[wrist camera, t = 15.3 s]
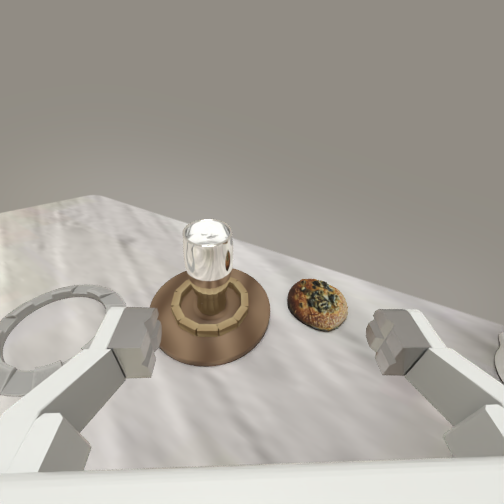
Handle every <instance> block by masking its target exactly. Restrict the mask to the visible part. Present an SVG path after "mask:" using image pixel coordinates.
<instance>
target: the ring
mask: <svg viewBox="0 0 504 504" xmlns="http://www.w3.org/2000/svg"><path fill="white" fill-rule="evenodd" d="M71 297H89V298H93V299H96V300H98V301H100V302H101V303H102V304H103V305H104V306H105V307H106V313H107V311H108V310H109V309H110V308H111V307H126V305H125V302H124V300H123V299H122V298H121V296H120V295H119V294H117V293H116V292H115V291H113V290H111V289H109V288H106V287H103V286H98V285H73V286H68V287H63V288H59V289H56V290H53V291H50V292H47V293H45V294H42V295H40V296H38V297H35V298H33V299H31V300H29V301H27V302H25V303H24V304H22V305H20V306H19V307H17V308H16V309H14V310H13V311H12V312H10V313H9V314H8V315H6V316H5V317H4V318H3V319H2V320H1V321H0V395H5V396H25V395H26V394H27V393H29V392H30V391H31V390H33V389H34V388H35V387H36V386H38V385H39V384H40V383H41V382H43V381H44V380H45V379H47V378H48V377H49V376H50V375H52V374H53V373H54V372H55V371H57V370H58V369H59V368H61V367H62V366H63V365H64V364H66V363H67V362H68V361H69V360H71V359H72V358H71V359H69V360H67V361H65V362H63V363H62V362H61V360H60V361H57V362H55V363H52V364H49V365H45V366H41V367H35V370H34V371H23V370H17V369H16V368H15V367H13V366H10V365H7V364H6V363H5V362H4V359H3V346H4V343H5V341H6V339H7V337H8V335H9V334H10V332H11V331H12V330H13V329H14V327H15V326H16V325H17V324H18V323H19V322H20V321H22V320H23V319H24V318H25V317H26V316H28V315H29V314H31V313H32V312H34V311H35V310H37V309H39V308H41V307H43V306H45V305H47V304H49V303H52V302H54V301H58V300H61V299H65V298H71ZM94 337H95V336H94ZM94 337H93V338H92V339H91V340H90V341H89V342H88V343H87V344H86V345H85V346H83V347H82V348H81V349H82V350H83V349H89V347H90V345H91V343H92V341H93V339H94ZM74 357H75V356H74Z"/></svg>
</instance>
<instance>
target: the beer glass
mask: <svg viewBox="0 0 504 504" xmlns="http://www.w3.org/2000/svg"><path fill="white" fill-rule="evenodd" d="M183 254H184V262H185V267H186V271H187V274H188V277H189V280H190V282H191V285H192V288H193V291H194V301H193V310H194V312H195V314H196V315H197V316H198V317H200V318H202V319H204V320H216V319H219V318H221V317H223V316H224V315H225V314H226V313H227V312H228V310H229V307H230V302H229V298H228V294H227V289H228V284H229V280H230V276H231V272H232V266H233V239H232V229H231V227H230V226H229V225H227V224H226V223H224V222H222V221H219V220H214V219H203V220H197V221H194V222H192V223H190V224H188V225H187V226H186V227H185V228H184V230H183Z"/></svg>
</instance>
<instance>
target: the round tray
mask: <svg viewBox="0 0 504 504" xmlns="http://www.w3.org/2000/svg"><path fill="white" fill-rule="evenodd" d="M227 294H228V298H229V302H230V307H229V310H228V312H227V313H226V314H225V315H224V316H223V317H221V318H219V319H216V320H204V319H202V318H200V317H198V316H197V315H196V314H195V312H194V310H193V301H194V291H193V288H192V285H191V282H190V280H189V277H188V274H187V271H185V272H182V273H180V274H178V275H176V276H175V277H173V278H172V279H170V280H169V281H168V282H166V283H165V284H164V285H163V286H162V287H161V288H160V289H159V290H158V292H157V293H156V295H155V296H154V298H153V300H152V302H151V305H150V308H157V310H158V313H159V315H158V318H157V320H159V321H160V322H161V326H162V336H161V342H160V346H159V347H160V348H161V349H162V350H163V351H164V352H165V353H166V354H167V355H169V356H170V357H172V358H173V359H175V360H177V361H179V362H182V363H185V364H189V365H194V366H216V365H222V364H226V363H229V362H232V361H234V360H236V359H238V358H241V357H242V356H244V355H245V354H247V353H248V352H250V351H251V350H252V349H253V348H254V347H255V346H256V345H257V344H258V343H259V342H260V340H261V339H262V337H263V336H264V334H265V332H266V330H267V326H268V322H269V316H270V304H269V299H268V297H267V294H266V292H265V290H264V289H263V288H262V286H261V285H260V284H259V283H258V282H257V281H256V280H255V279H254V278H252V277H251V276H249V275H248V274H246V273H244V272H242V271H239V270H236V269H233V268H232V272H231V276H230V280H229V284H228V289H227Z"/></svg>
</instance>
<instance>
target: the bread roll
mask: <svg viewBox="0 0 504 504" xmlns="http://www.w3.org/2000/svg"><path fill="white" fill-rule="evenodd" d="M288 308H289V310H290V311H291V313H292V314H294V316H295V317H296V318H297V319H298V320H299V321H301V322H302V323H304V324H305V325H311V326H312V327H314V328H315V329H317V330H320V331H330V330H333V329H338V328H337V327H338V326H339V325H340V324H341V323H342V322H343V321H344V320H345V319H346V317H347V315H348V312H347V309H348V307H347V303H346V300H345V298H344V296H343V295H342V293H341V292H340V291H339V290H338V289H336V288H334V287H332V286H331V285H329V284H327V282H324V281H319V280H316V279H302V280H300V281H299V282H297V283H296V284H295V285H294V286H293V287H292V288H291V289H290V291H289V293H288Z"/></svg>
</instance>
